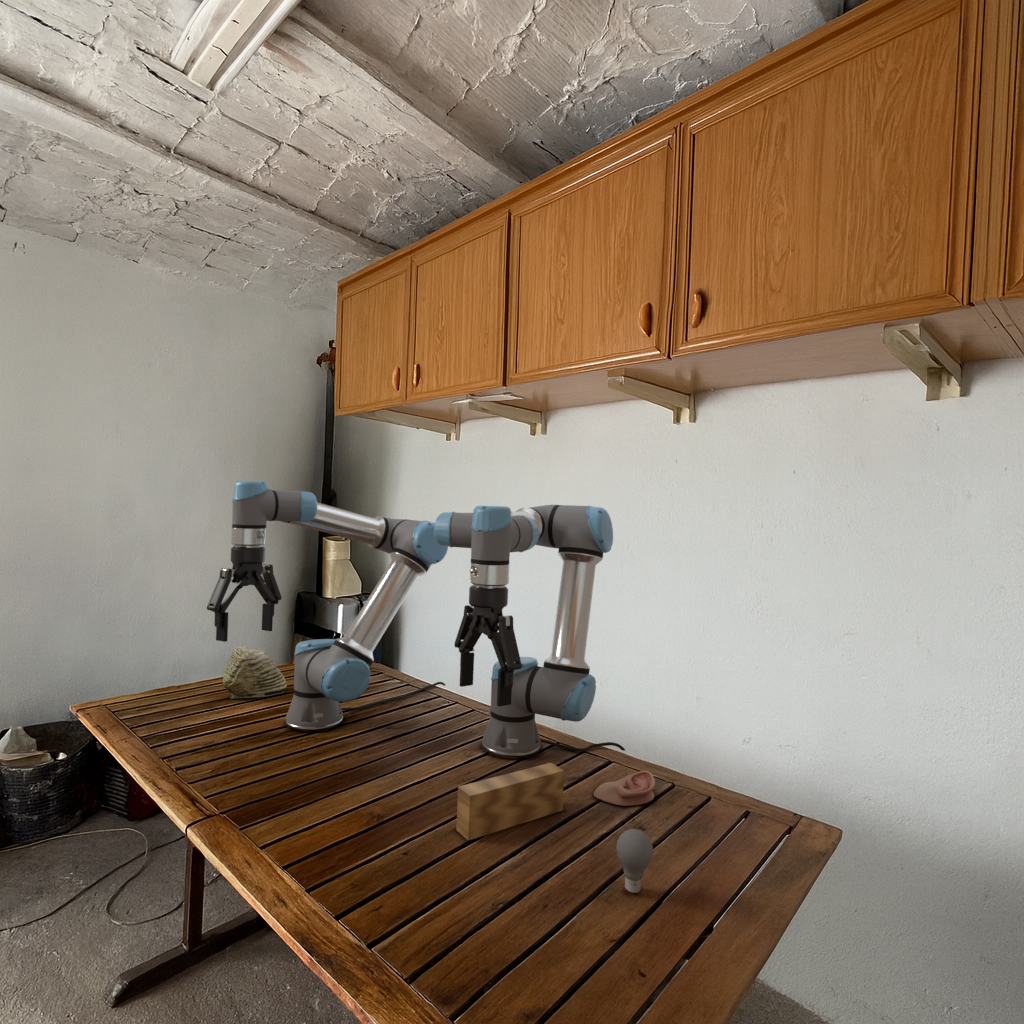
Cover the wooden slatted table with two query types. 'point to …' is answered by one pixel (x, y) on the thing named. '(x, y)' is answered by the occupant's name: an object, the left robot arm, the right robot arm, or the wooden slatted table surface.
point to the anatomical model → (628, 790)
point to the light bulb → (634, 857)
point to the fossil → (252, 674)
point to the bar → (509, 800)
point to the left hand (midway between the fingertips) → (245, 635)
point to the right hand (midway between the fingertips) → (484, 695)
